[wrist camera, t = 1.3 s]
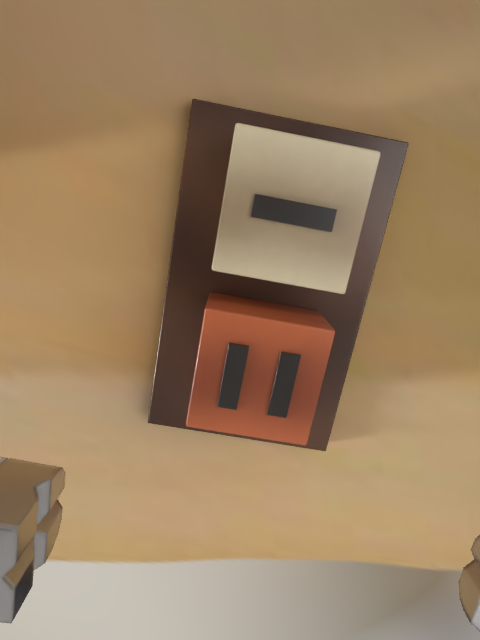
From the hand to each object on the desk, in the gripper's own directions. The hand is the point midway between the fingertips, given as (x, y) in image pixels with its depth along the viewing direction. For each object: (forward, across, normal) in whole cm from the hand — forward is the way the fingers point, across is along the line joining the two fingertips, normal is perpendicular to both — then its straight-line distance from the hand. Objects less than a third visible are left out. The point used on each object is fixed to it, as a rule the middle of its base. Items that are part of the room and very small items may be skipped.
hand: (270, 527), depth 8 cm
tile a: (+9, 0, -6) cm, 11 cm away
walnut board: (+10, 0, -3) cm, 10 cm away
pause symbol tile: (+9, 0, 0) cm, 9 cm away
